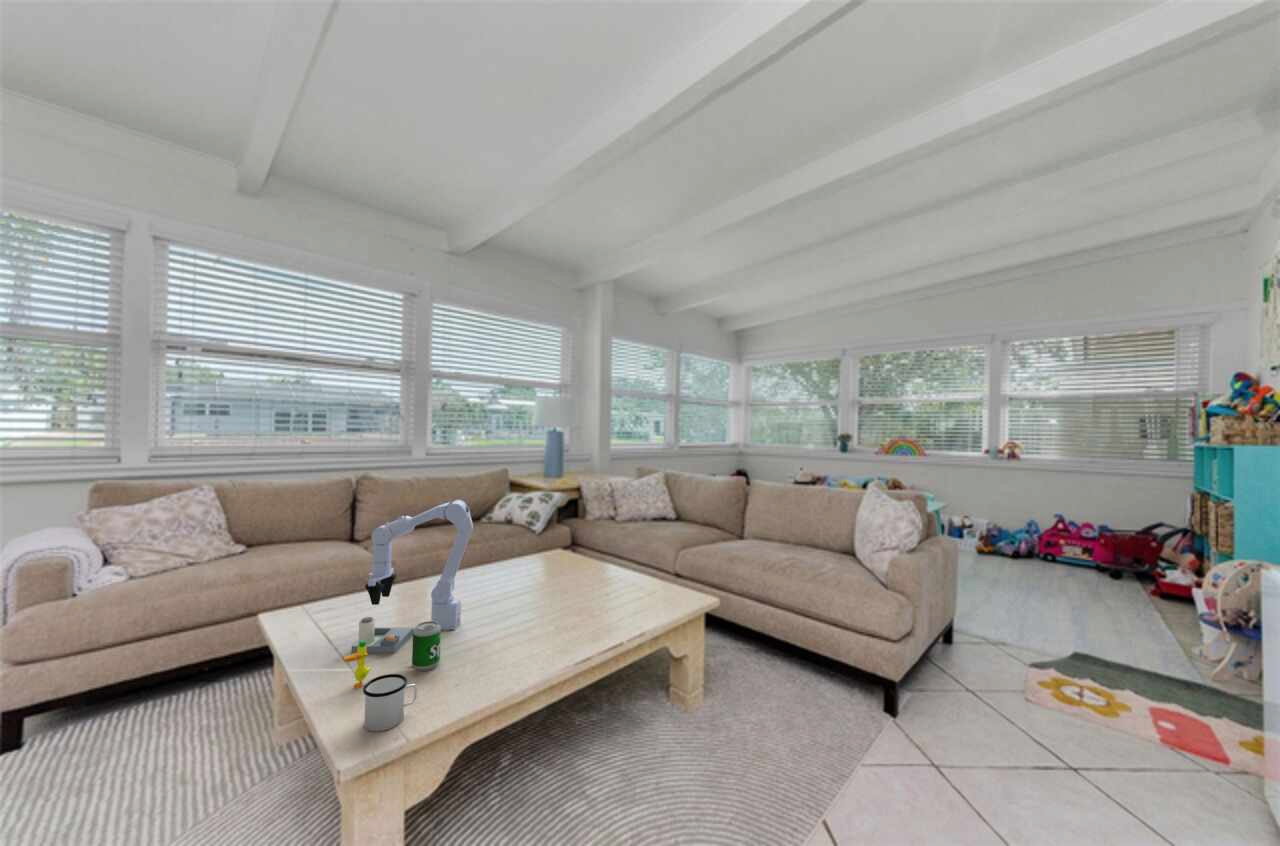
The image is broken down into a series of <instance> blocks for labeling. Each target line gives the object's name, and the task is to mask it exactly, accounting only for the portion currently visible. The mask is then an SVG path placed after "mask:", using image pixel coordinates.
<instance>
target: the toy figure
mask: <svg viewBox="0 0 1280 846" xmlns="http://www.w3.org/2000/svg"><path fill="white" fill-rule="evenodd" d="M365 643H366V641H365V640H362V641H360V644H359V645H358V652H357V653H351V654H349V655H346V656H345V657H344V658H343V661H345V662H347V663H351V662H354V661H357V667H356V668H355V670H354V679H355V680H356V681H357V682H355V683H354V684H353V687H354V689H359V688H361V687H362V688H363V687H364V684H363V683H362V682H363V681H365V679H366V678H367V675H368V674H369V672H370V671H371V669H372V666H369V667H367V666H366V664H365V663H366V657H368V656H369V653H366V645H367V644H365Z"/></svg>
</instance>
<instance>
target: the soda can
mask: <svg viewBox="0 0 1280 846" xmlns="http://www.w3.org/2000/svg"><path fill="white" fill-rule="evenodd" d="M441 631H442V629H441V627H440V625H438V623H437V622H432V621H431V620H430V621H424V622H420V623H418V624H417V625H416V626H415V627H413V634H412V648H411V649H412V655H411V657H412V658H411V666H412V667H413V668H414V669H415V671H418V672H427V671H430V670H432V669H434V668H436V667H437V665H438V664H439V663H440V661H441V639H442V638H441V635H442V634H441V633H442V632H441Z"/></svg>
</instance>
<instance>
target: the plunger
mask: <svg viewBox="0 0 1280 846" xmlns="http://www.w3.org/2000/svg"><path fill="white" fill-rule="evenodd" d="M394 639H395V635H388V636H386V637H385V641H393V640H394Z"/></svg>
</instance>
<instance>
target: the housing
mask: <svg viewBox="0 0 1280 846" xmlns="http://www.w3.org/2000/svg"><path fill="white" fill-rule="evenodd" d="M413 630H414V627H375V639H374V642H372V643H370V644H367V645H366V653H367V654H396V653H397V652H398V651H399V649H401V647H402V646H403V645H404V644H405V643H406V642H407V641H408V640H409V639H410V638H411V637H413ZM388 635H395V639H394V640H393V641H385V637H386V636H388ZM358 645H359V643H358V640H357V641H355V642H354V643H353V644H352V645H351V654H355V653H357V652H358Z"/></svg>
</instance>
